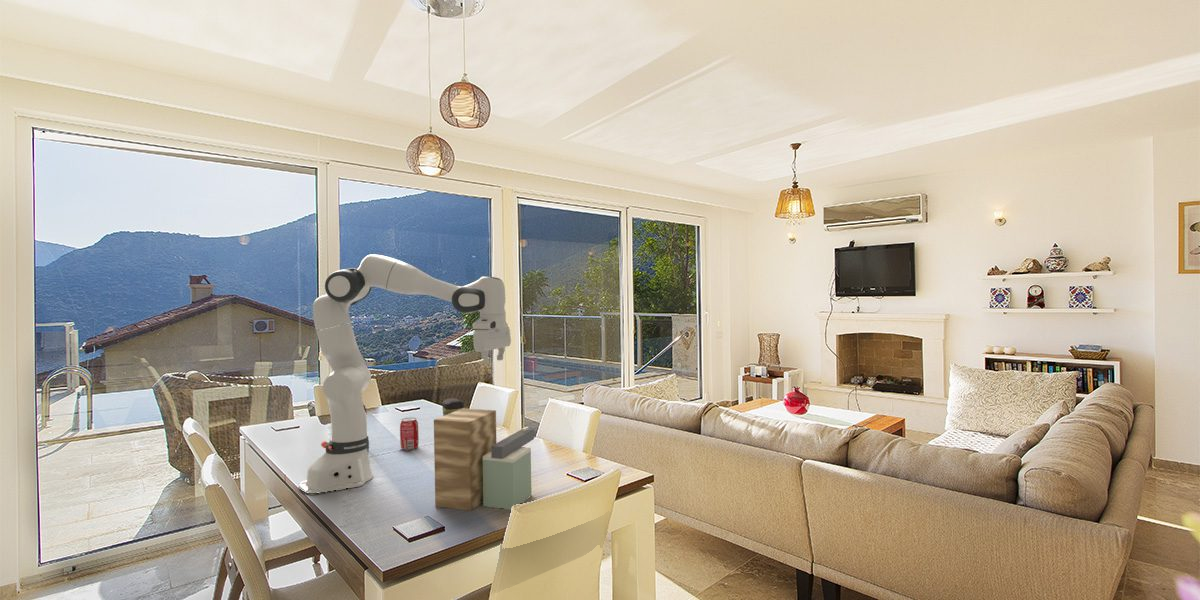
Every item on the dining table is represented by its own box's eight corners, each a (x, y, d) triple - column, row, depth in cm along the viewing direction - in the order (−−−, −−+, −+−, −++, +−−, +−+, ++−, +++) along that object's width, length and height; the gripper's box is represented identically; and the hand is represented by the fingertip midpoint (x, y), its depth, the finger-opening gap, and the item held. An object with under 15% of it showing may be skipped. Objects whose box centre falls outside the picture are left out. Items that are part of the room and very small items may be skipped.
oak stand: (470, 510, 163) (468, 422, 162) (435, 505, 167) (433, 419, 166) (497, 491, 178) (495, 410, 177) (464, 487, 182) (463, 408, 181)
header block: (513, 510, 163) (512, 459, 162) (483, 506, 166) (482, 456, 166) (531, 495, 174) (530, 447, 174) (502, 492, 177) (502, 445, 177)
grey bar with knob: (502, 458, 163) (501, 444, 163) (491, 457, 164) (491, 443, 164) (534, 439, 184) (534, 426, 184) (524, 438, 185) (524, 425, 185)
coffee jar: (467, 443, 233) (466, 399, 232) (448, 447, 228) (447, 402, 228) (458, 438, 241) (458, 395, 240) (440, 441, 236) (440, 398, 236)
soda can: (412, 444, 232) (411, 416, 232) (422, 447, 227) (421, 418, 227) (396, 448, 226) (396, 419, 226) (406, 452, 222) (406, 422, 222)
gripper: (499, 320, 206) (499, 357, 206) (469, 324, 186) (470, 365, 187) (514, 320, 204) (515, 358, 204) (486, 324, 184) (487, 366, 185)
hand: (493, 361), depth 195 cm, fingers open, 8 cm apart
